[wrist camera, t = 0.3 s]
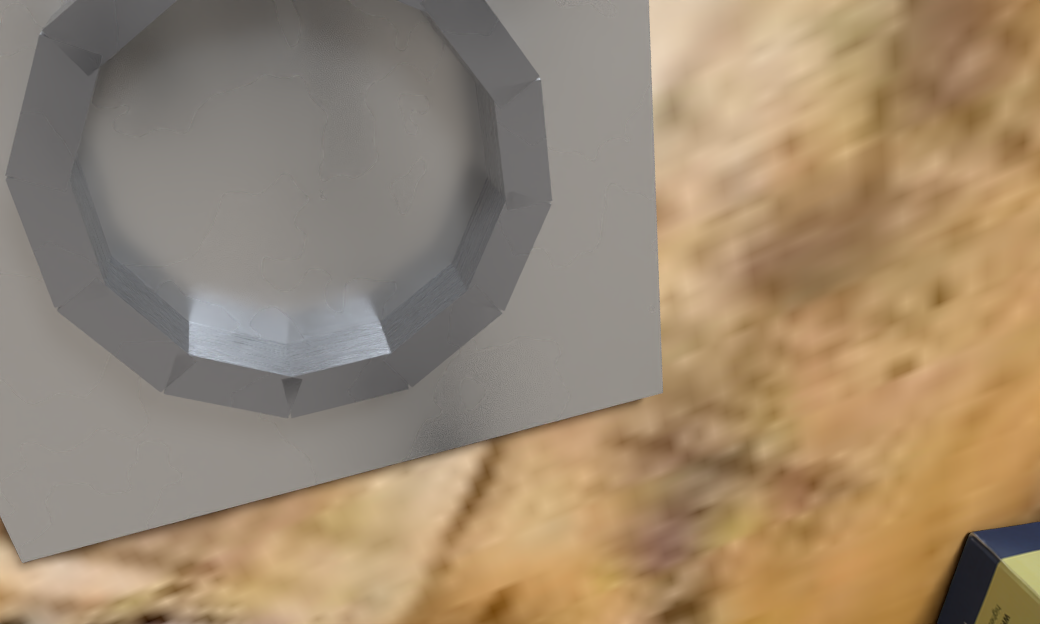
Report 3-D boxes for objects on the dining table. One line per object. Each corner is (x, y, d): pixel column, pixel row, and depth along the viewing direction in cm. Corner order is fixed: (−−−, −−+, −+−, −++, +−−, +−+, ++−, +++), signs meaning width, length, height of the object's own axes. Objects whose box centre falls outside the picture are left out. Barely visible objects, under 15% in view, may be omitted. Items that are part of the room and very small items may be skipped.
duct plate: (650, 377, 26) (687, 423, 24) (26, 540, 23) (12, 608, 21) (620, -321, 19) (671, -337, 17) (-328, -229, 15) (-403, -235, 13)
